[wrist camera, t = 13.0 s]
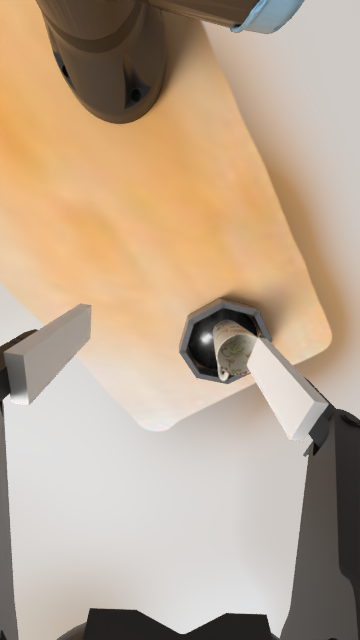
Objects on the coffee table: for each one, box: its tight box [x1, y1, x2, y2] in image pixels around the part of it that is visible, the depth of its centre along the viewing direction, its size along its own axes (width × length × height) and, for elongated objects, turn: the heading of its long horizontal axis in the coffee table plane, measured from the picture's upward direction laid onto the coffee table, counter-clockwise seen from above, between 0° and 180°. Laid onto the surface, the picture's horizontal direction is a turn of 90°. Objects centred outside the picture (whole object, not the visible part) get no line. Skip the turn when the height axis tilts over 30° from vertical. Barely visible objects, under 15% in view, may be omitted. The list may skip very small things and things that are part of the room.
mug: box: [213, 320, 258, 381], centre depth 38 cm, size 8×13×10 cm, turn 170°
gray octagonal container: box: [179, 298, 272, 384], centre depth 41 cm, size 18×18×3 cm
